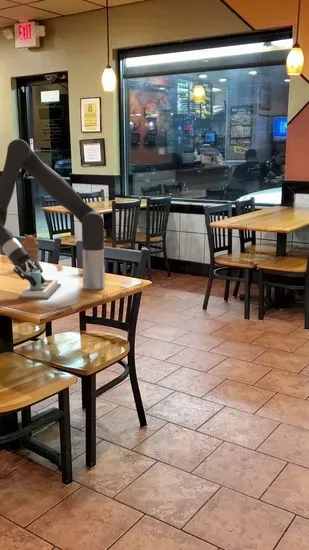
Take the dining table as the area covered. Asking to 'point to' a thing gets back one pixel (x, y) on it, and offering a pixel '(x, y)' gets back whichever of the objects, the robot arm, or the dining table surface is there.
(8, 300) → the dining table surface
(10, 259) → the robot arm
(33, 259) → the cat ice cream
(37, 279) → the teal peg
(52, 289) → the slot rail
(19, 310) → the dining table surface
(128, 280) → the dining table surface
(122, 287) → the dining table surface
